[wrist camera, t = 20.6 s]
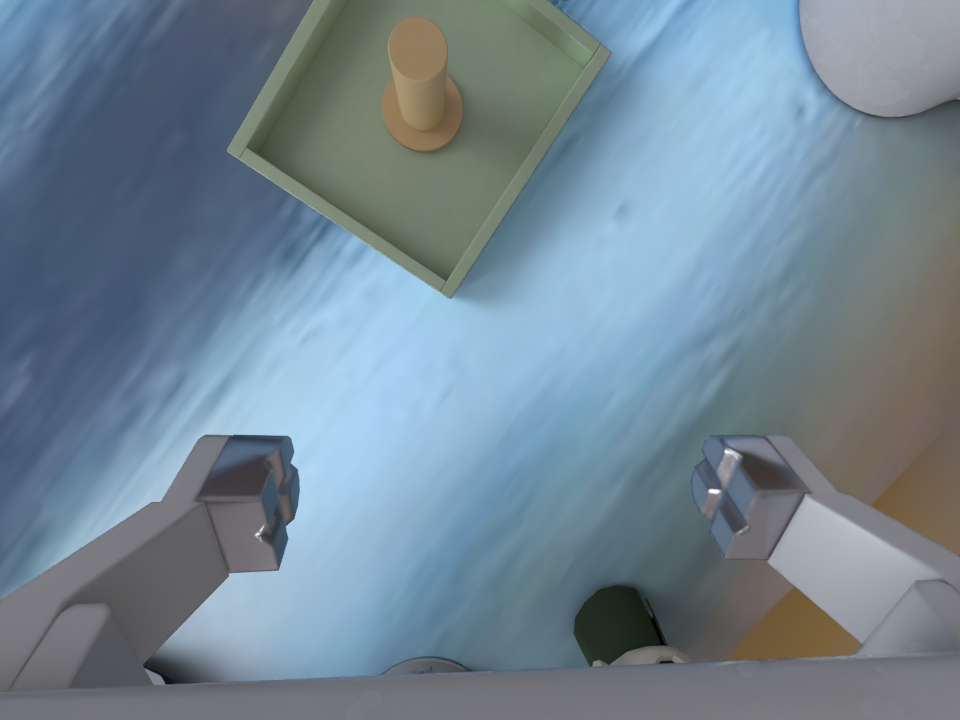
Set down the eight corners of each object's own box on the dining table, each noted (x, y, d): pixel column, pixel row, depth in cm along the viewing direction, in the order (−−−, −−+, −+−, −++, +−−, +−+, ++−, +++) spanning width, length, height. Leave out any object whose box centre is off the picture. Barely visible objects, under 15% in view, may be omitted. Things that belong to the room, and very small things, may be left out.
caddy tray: (393, -92, 30) (372, -268, 20) (596, 71, 32) (667, -14, 22) (245, 161, 31) (159, 113, 22) (449, 296, 34) (455, 309, 24)
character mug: (689, 622, 40) (807, 787, 28) (628, 685, 41) (716, 875, 28) (590, 544, 38) (669, 684, 26) (528, 612, 39) (574, 781, 26)
